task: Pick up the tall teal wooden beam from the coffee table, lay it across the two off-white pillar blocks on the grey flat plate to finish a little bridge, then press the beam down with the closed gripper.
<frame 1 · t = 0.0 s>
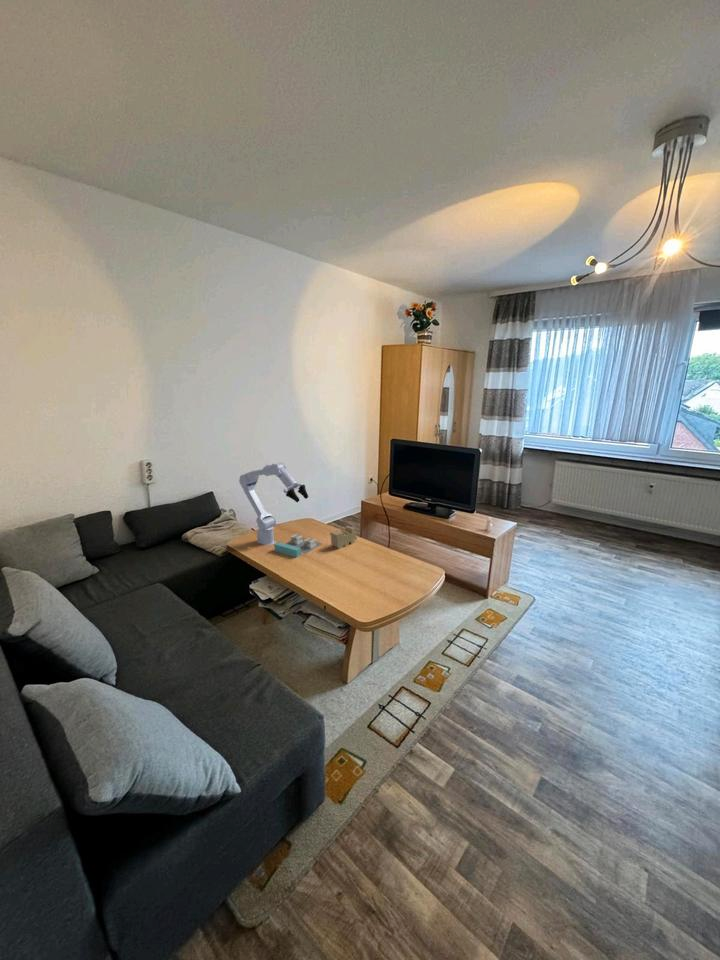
hand: (302, 499, 207), 32 cm above the table, tool tilted 50°, fingers open, 7 cm apart
grey flat plate: (302, 545, 226), on the table
pillar 2: (310, 546, 224), point 1 cm above the table, touching grey flat plate
teal beam: (287, 554, 215), on the table
pillar 1: (296, 542, 229), point 1 cm above the table, touching grey flat plate
toy train: (343, 545, 228), on the table
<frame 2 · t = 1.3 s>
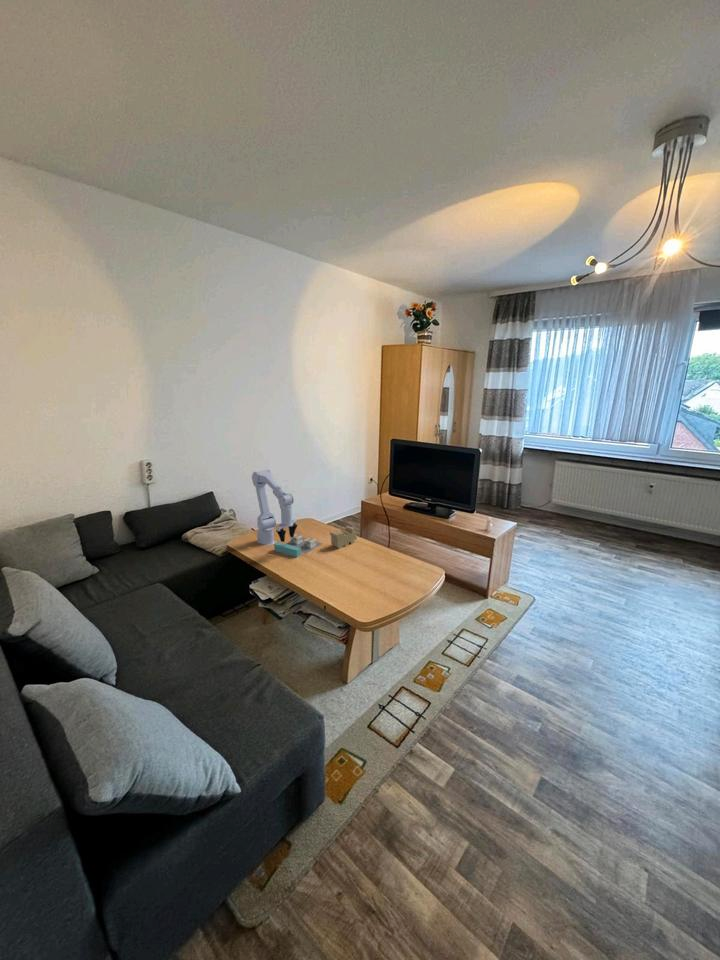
hand: (287, 539, 213), 9 cm above the table, tool pointing down, fingers open, 7 cm apart
nothing on the table moved.
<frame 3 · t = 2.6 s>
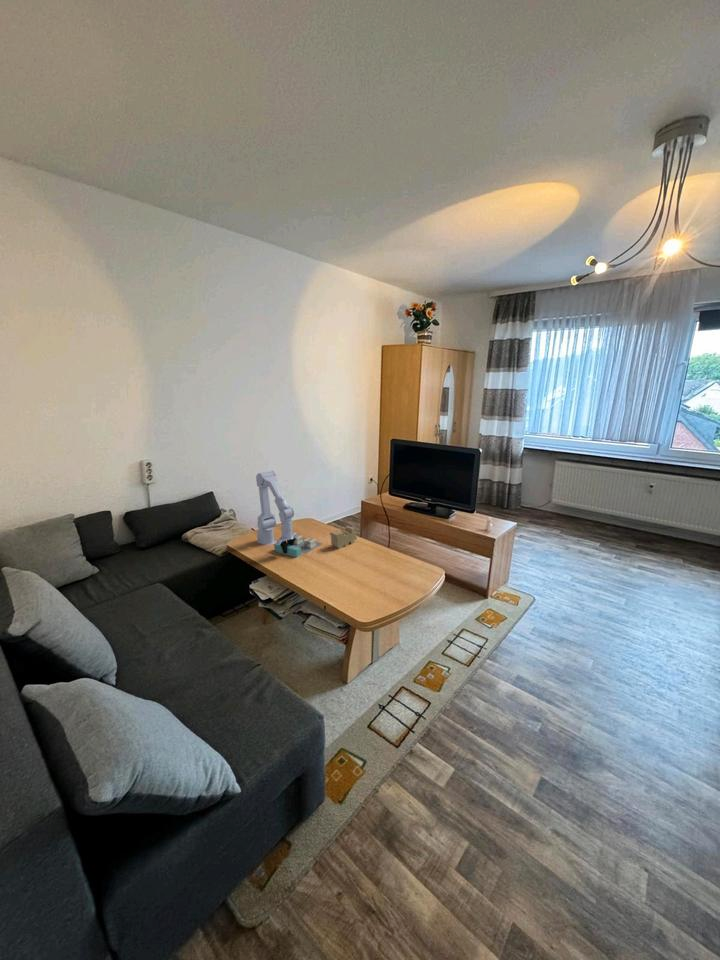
hand: (287, 551, 215), 1 cm above the table, tool pointing down, fingers closed on teal beam, 4 cm apart
teal beam: (287, 554, 215), on the table, touching gripper
everything else where it was.
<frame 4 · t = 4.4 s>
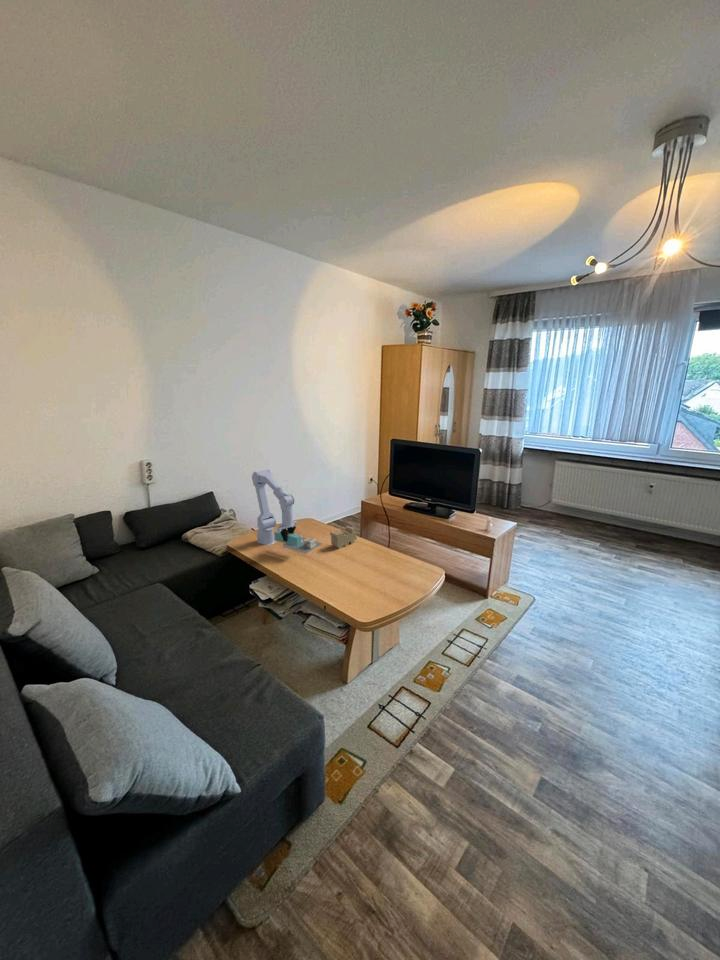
hand: (287, 539, 213), 8 cm above the table, tool pointing down, fingers closed on teal beam, 4 cm apart
teal beam: (287, 542, 214), point 7 cm above the table, touching gripper
everything else where it was.
when the fingers open (8 cm above the table, at t = 6.1 s): teal beam drops 1 cm, resting on pillar 1, pillar 2.
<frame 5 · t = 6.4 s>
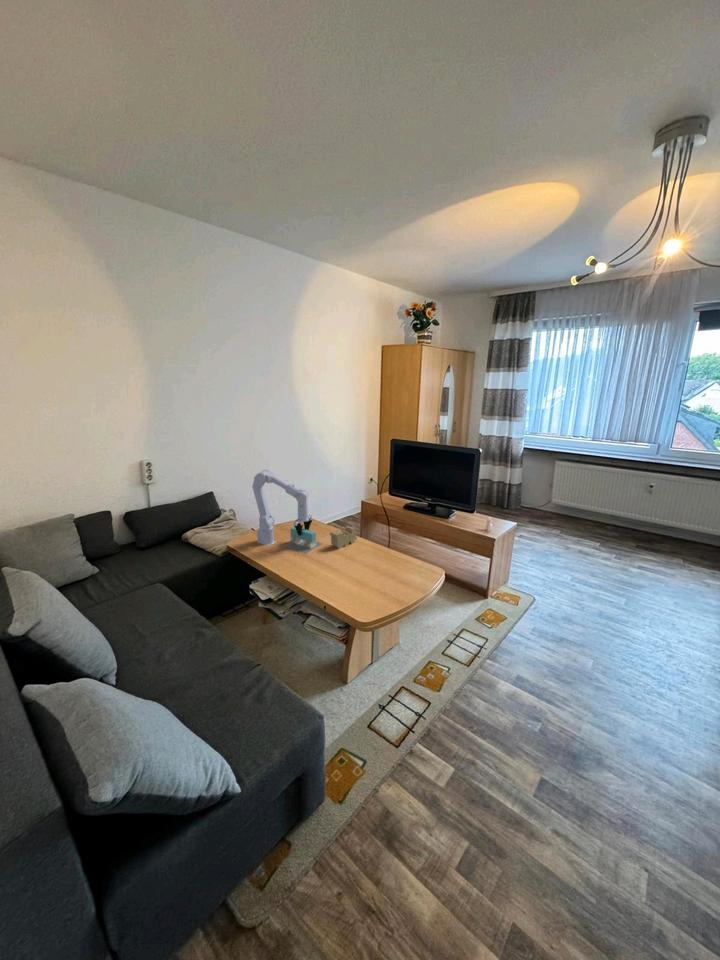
hand: (303, 533, 225), 8 cm above the table, tool pointing down, fingers open, 6 cm apart
pillar 2: (310, 546, 224), point 1 cm above the table, touching grey flat plate, teal beam
teal beam: (303, 538, 225), point 5 cm above the table, touching pillar 1, pillar 2
pillar 1: (296, 542, 229), point 1 cm above the table, touching grey flat plate, teal beam
everything else where it was.
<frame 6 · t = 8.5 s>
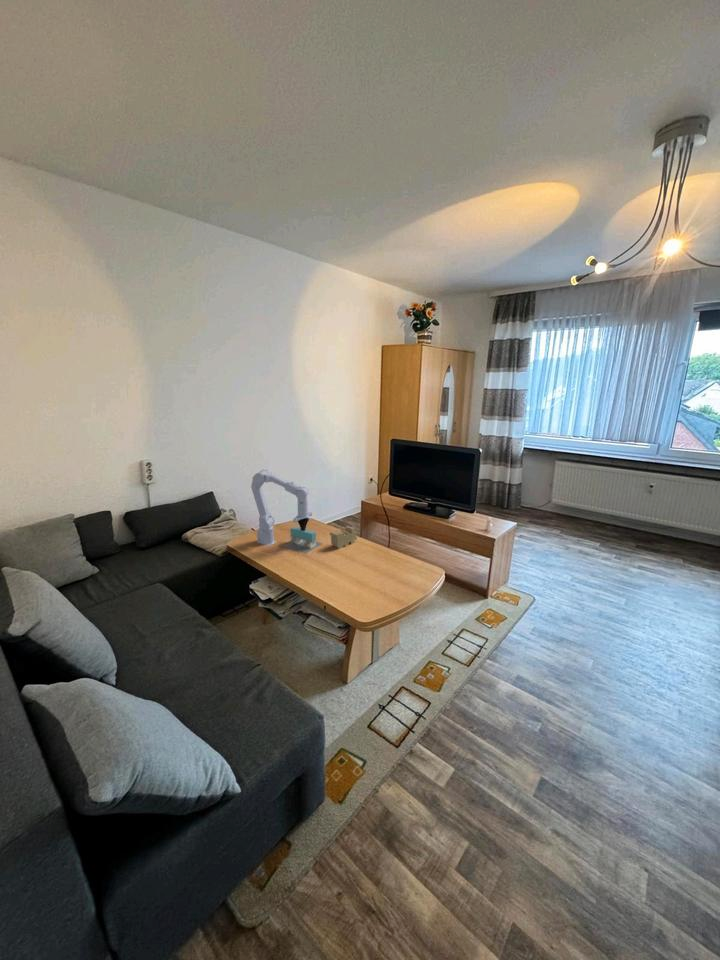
hand: (303, 530, 224), 9 cm above the table, tool pointing down, fingers closed, pressing on teal beam
teal beam: (303, 538, 225), point 5 cm above the table, touching gripper, pillar 1, pillar 2
everything else where it was.
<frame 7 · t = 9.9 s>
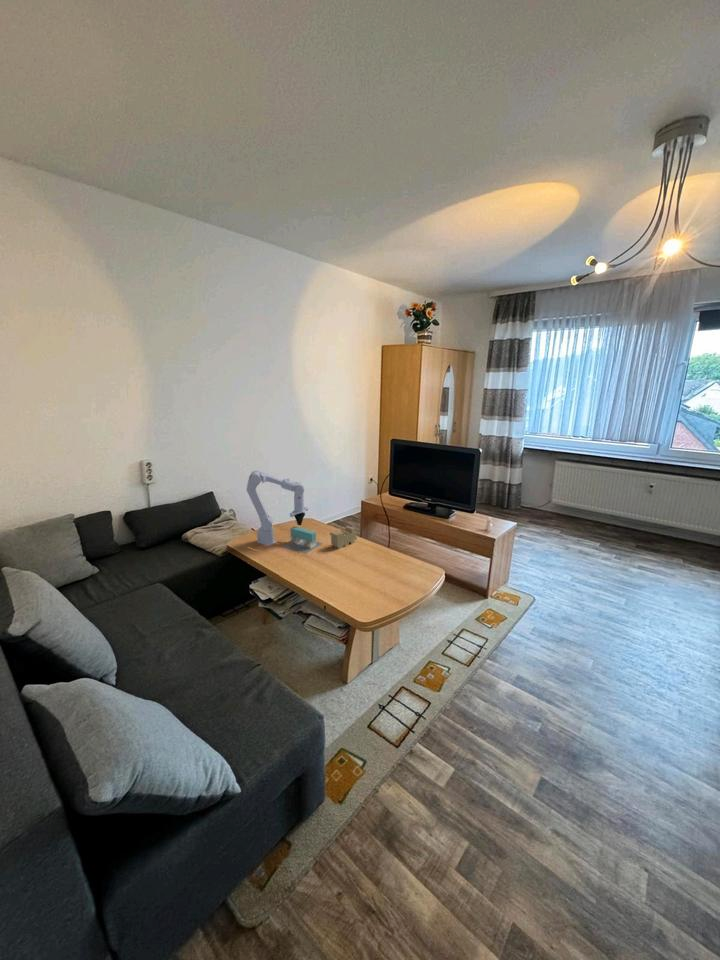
hand: (299, 524, 230), 10 cm above the table, tool pointing down, fingers closed
teal beam: (303, 538, 225), point 5 cm above the table, touching pillar 1, pillar 2
everything else where it was.
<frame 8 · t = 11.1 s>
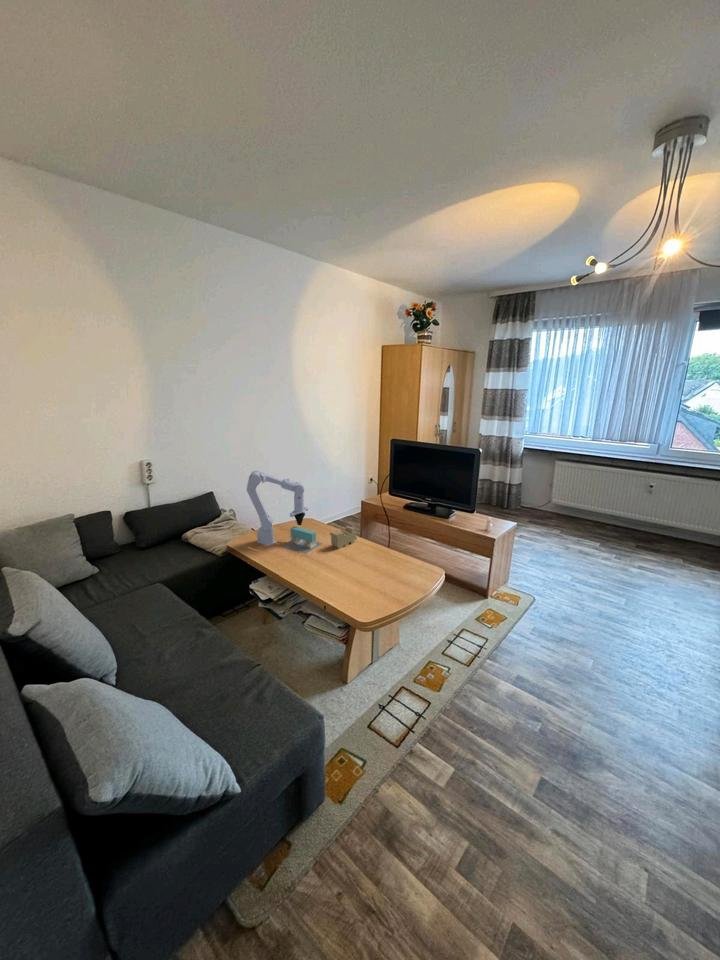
hand: (299, 524, 230), 10 cm above the table, tool pointing down, fingers closed
nothing on the table moved.
at the end: teal beam 0.0 cm from the target spot, point 4.6 cm above the table; teal beam tilted 0°; pillar 2 moved 0.0 cm from its start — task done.
